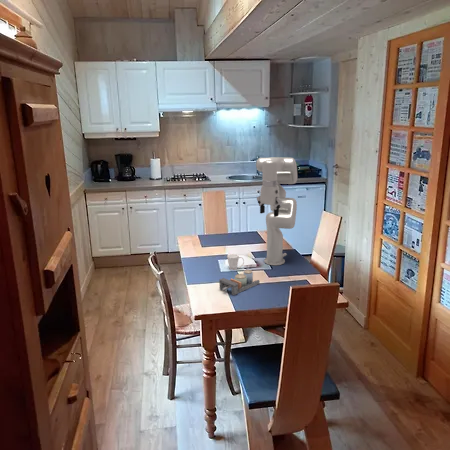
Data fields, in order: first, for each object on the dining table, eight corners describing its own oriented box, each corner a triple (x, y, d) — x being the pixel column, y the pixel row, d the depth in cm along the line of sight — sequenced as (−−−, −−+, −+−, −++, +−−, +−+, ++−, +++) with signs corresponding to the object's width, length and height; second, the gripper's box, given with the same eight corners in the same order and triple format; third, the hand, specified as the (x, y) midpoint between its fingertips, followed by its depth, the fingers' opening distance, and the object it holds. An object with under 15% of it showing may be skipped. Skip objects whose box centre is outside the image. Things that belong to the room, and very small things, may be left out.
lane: (245, 278, 235) (245, 269, 233) (259, 283, 228) (259, 274, 226) (219, 289, 222) (219, 279, 220) (233, 295, 214) (233, 285, 213)
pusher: (231, 285, 225) (231, 278, 224) (241, 289, 220) (241, 282, 219) (218, 291, 219) (218, 283, 218) (228, 295, 214) (228, 288, 213)
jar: (247, 280, 232) (247, 268, 230) (254, 283, 229) (254, 271, 227) (241, 283, 229) (241, 271, 227) (248, 285, 226) (248, 273, 224)
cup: (227, 266, 253) (226, 253, 251) (243, 265, 253) (243, 253, 251) (227, 270, 246) (227, 257, 244) (244, 270, 247) (244, 257, 244)
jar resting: (240, 282, 230) (240, 272, 228) (249, 286, 225) (249, 275, 223) (232, 286, 225) (232, 276, 224) (240, 290, 221) (240, 279, 219)
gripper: (286, 184, 219) (286, 216, 224) (261, 180, 231) (261, 210, 236) (277, 186, 214) (277, 218, 219) (252, 182, 226) (252, 213, 231)
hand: (269, 214), depth 227 cm, fingers open, 9 cm apart
